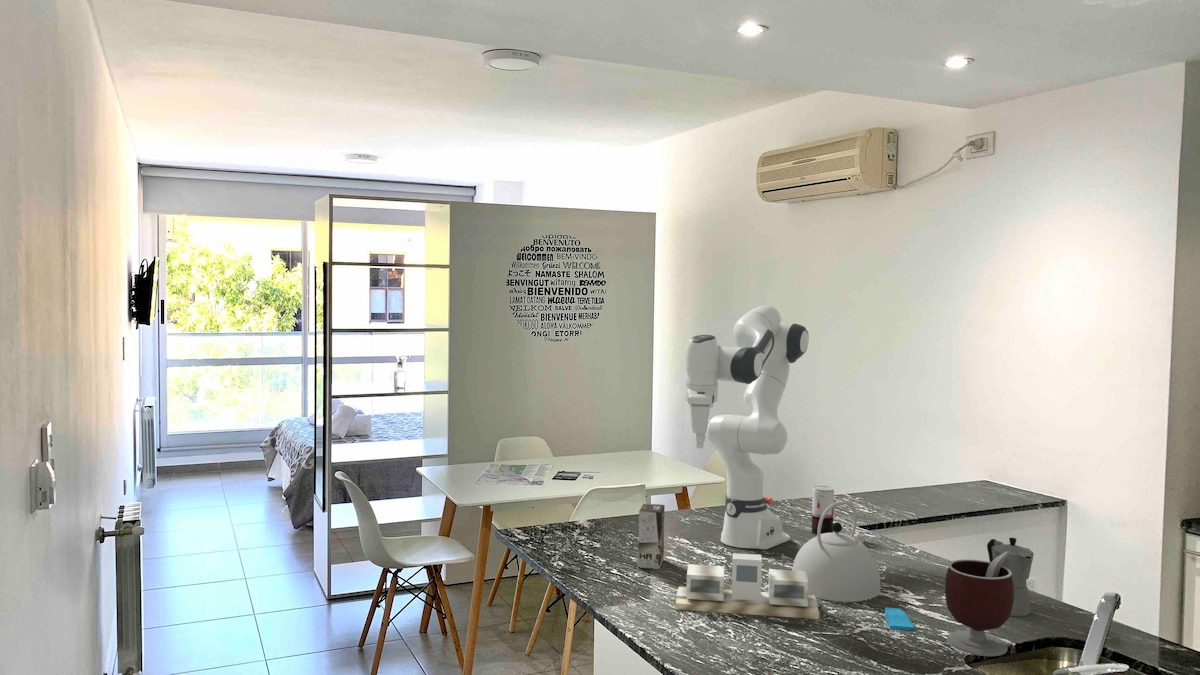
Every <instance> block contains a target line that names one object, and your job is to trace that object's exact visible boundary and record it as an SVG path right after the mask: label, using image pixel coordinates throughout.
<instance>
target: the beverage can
mask: <svg viewBox="0 0 1200 675" xmlns="http://www.w3.org/2000/svg"><path fill="white" fill-rule="evenodd" d="M811 502H812V506H811V507H812V508H811V510H812V512H811V533H812V535H814V536H815V537H816V536H817V531H818V524H819V521H820V518H821V516H822V514H823V512H824V511H825V510H826V508H827V507H828V506H830V505H831V504H833V503H835V490H834V487H833V486H827V485H815V486H813V489H812V501H811ZM834 510H835V507H833V508H831V509H830V510H829V511H828V512H827V514H826V515H825V517H824V519H823V522H822V526H821V534H823V533H834V531H833V530H832V525H833V523H834Z"/></svg>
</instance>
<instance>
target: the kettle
mask: <svg viewBox="0 0 1200 675" xmlns="http://www.w3.org/2000/svg"><path fill="white" fill-rule="evenodd" d="M841 505H847V506H849V507H850V508H851V510H852V514H853V515H852V516H853V524H852V530H851V533H850V535H849V534H845V533H841V531H842V529H843V526H842V524H841V523H840V522H837V521H835V522H833V525H832V530H833V533H823V534H821V526H822V522H823V519H824V517H825V515H826V514H827V512H828V511H829V510H830V509H831V508H833V507H834V508H835V507H837V506H841ZM857 517H858V515H857V510H856V508H855V505H853V504H852V503H851V502H850V501H845V500H841V501H836V502H834V503H833V504H831V505H830V506H828V507H827V508H826V510H825V511H824V512H823V514H822V516H821V518H820V521H819V524H818V531H817V536H816V535H815V536H814V537H813V538H810V540H808V541H807V542H806V543H804V544H803V545H802V546H801V547H800V549H799V550H798V552H797V553H796V556H795V558H794V560H793V563H792V571H806V574H807V579H808V595H815V598H816V599H821V600H825V601H831V602H832V601H833V602H841V601H843V603H844V602H845V603H847V602H849V603H853V602H864V601H863V600H865V601H868V600H867V599H869V600H872V599H871V598H873V597H875V598H877V597H878V596H879V595H881V594H880V593H881V590H882V589H881V576H880V575H881V573H880V570H879V569H880V568H879V566H878V563H877V561H876V559H875V557H874V555H873V554H872V552H871V551H870V550H869V549H868V547H867V546H866V545H865V544H864V542H865V540H866V536H864V535H863V534H857V535H856V536H855V532H856V531H857V530H856V529H857V522H858V518H857ZM854 536H855V537H854ZM877 595H878V596H877ZM876 596H877V597H876ZM873 599H874V598H873Z"/></svg>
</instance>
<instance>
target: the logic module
mask: <svg viewBox="0 0 1200 675" xmlns="http://www.w3.org/2000/svg"><path fill="white" fill-rule="evenodd" d="M762 560H763V559H762V554H754V553H753V554H752V553H737V552H733V553H732V568H731V569H732V571H731V574H732V576H731V590H732V599H741V600H756V601H761V592H762V568H763V567H762V565H763V564H762V562H763V561H762Z"/></svg>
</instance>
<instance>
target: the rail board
mask: <svg viewBox="0 0 1200 675" xmlns="http://www.w3.org/2000/svg"><path fill="white" fill-rule="evenodd" d="M818 606H819V603H818V601H817V598H816V597H815V595H808V579H807V574H806V571H792V570H790V569H789V570H788V569H773V568H768V591H761V601H756V600H741V599H732V589H725V565H723V566H722V565H708V564H707V565H705V564H704V565H703V564H694V563H693V564H689V563H688V565H687V572H686V586H678V588H677V591H676V599H675V606H674V608H675V610H680V611H681V610H682V611H696V612H708V613H709V612H711V613H726V614H738V615H739V614H740V615H752V616H769V617H781V618H782V617H783V618H794V619H795V618H798V619H810V620H820V611H819V608H818Z"/></svg>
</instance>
